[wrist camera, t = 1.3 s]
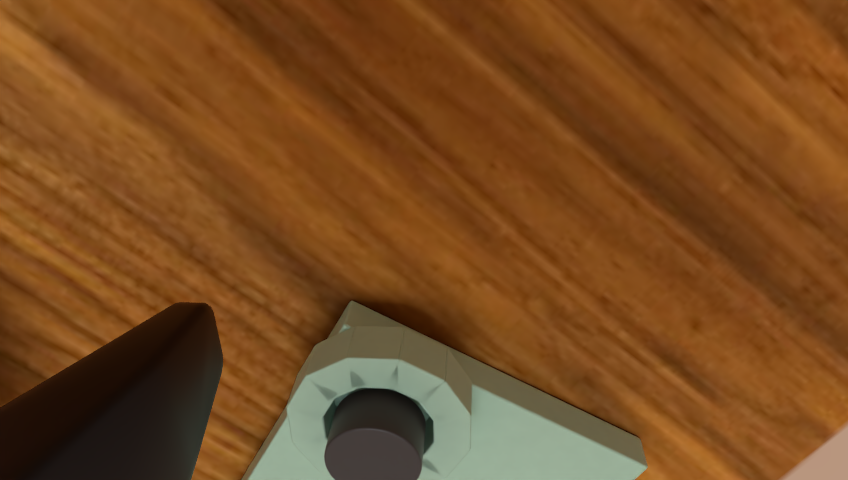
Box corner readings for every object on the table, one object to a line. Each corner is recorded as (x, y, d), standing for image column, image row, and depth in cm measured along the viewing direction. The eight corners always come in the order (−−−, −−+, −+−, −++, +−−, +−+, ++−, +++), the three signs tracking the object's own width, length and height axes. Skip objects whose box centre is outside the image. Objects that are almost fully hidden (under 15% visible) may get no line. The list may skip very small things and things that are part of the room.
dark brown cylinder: (443, 411, 22) (439, 454, 20) (399, 465, 23) (393, 509, 22) (358, 372, 21) (349, 414, 20) (319, 431, 22) (308, 473, 21)
